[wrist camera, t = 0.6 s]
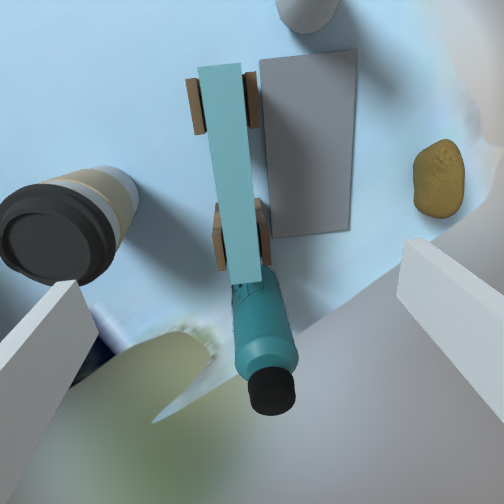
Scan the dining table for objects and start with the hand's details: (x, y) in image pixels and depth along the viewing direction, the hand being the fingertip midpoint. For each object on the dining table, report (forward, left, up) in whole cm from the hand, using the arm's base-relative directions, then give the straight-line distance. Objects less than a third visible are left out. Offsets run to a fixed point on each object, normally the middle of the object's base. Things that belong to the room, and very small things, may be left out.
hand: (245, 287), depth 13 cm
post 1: (0, +6, -26) cm, 27 cm away
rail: (0, 0, -18) cm, 18 cm away
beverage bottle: (+1, -16, -26) cm, 31 cm away
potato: (+23, -4, -27) cm, 35 cm away
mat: (+9, 0, -26) cm, 28 cm away
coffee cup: (-15, -2, -26) cm, 31 cm away
